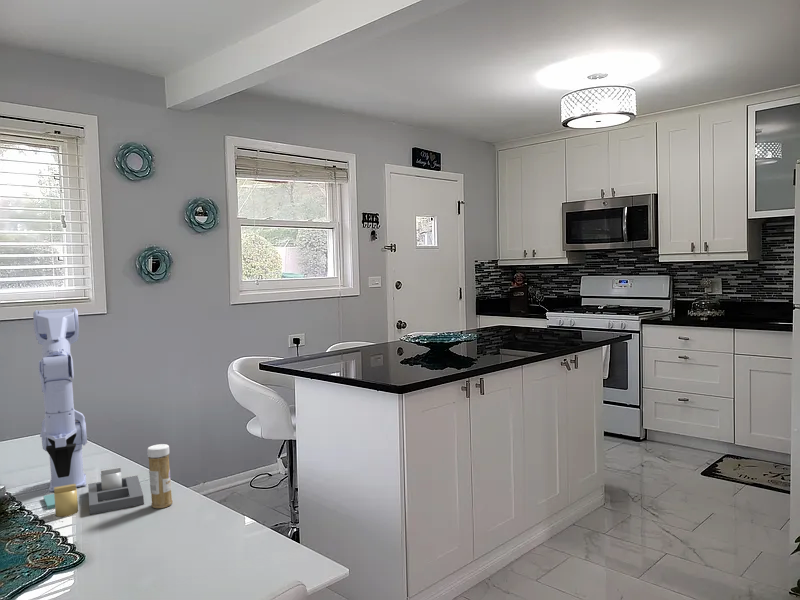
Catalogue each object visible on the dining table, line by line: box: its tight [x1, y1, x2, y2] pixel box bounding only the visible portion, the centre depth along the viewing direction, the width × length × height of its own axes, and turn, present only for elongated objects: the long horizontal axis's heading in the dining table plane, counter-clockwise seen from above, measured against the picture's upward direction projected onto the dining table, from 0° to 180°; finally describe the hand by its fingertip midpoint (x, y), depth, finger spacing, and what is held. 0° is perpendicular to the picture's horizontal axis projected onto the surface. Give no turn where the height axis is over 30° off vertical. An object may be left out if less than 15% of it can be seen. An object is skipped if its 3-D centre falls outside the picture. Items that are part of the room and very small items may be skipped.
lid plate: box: [43, 493, 55, 510], centre depth 148 cm, size 8×5×1 cm, turn 35°
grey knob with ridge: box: [100, 466, 123, 491], centre depth 152 cm, size 4×4×6 cm
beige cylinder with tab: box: [53, 484, 79, 518], centre depth 141 cm, size 4×4×6 cm
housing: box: [87, 475, 145, 515], centre depth 149 cm, size 16×11×2 cm
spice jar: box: [146, 443, 173, 509], centre depth 143 cm, size 5×5×14 cm
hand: (64, 471), depth 140 cm, fingers open, 7 cm apart
